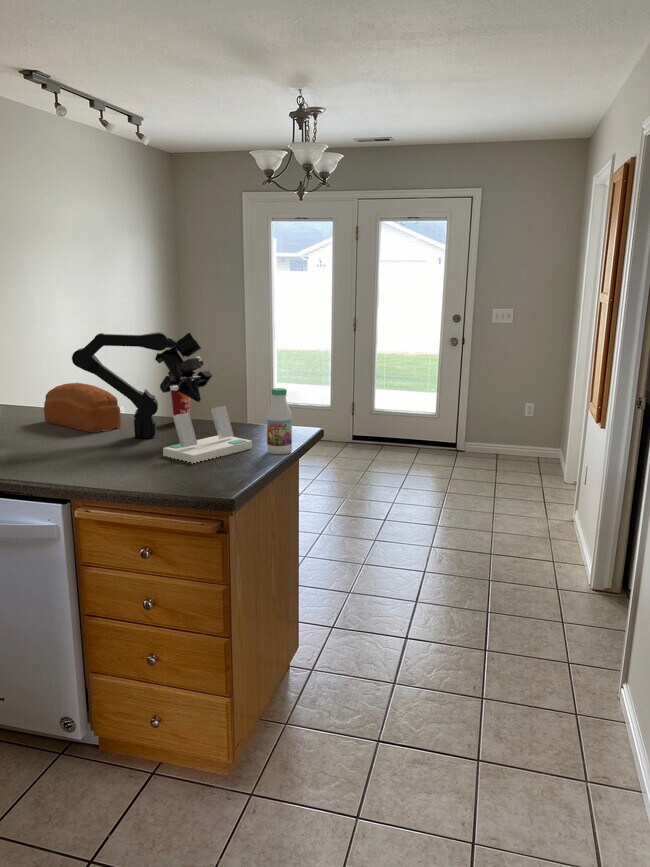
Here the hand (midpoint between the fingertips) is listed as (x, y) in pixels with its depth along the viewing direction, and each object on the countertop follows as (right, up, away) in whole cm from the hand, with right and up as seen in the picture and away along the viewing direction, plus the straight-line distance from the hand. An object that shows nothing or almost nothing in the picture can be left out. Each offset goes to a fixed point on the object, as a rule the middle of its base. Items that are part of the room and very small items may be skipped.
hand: (199, 401), depth 215 cm
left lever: (0, -15, -18) cm, 23 cm away
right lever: (+10, -12, -6) cm, 17 cm away
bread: (-49, -8, +27) cm, 56 cm away
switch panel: (+5, -17, -11) cm, 21 cm away
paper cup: (-13, -7, +33) cm, 36 cm away
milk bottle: (+27, -17, -11) cm, 34 cm away
